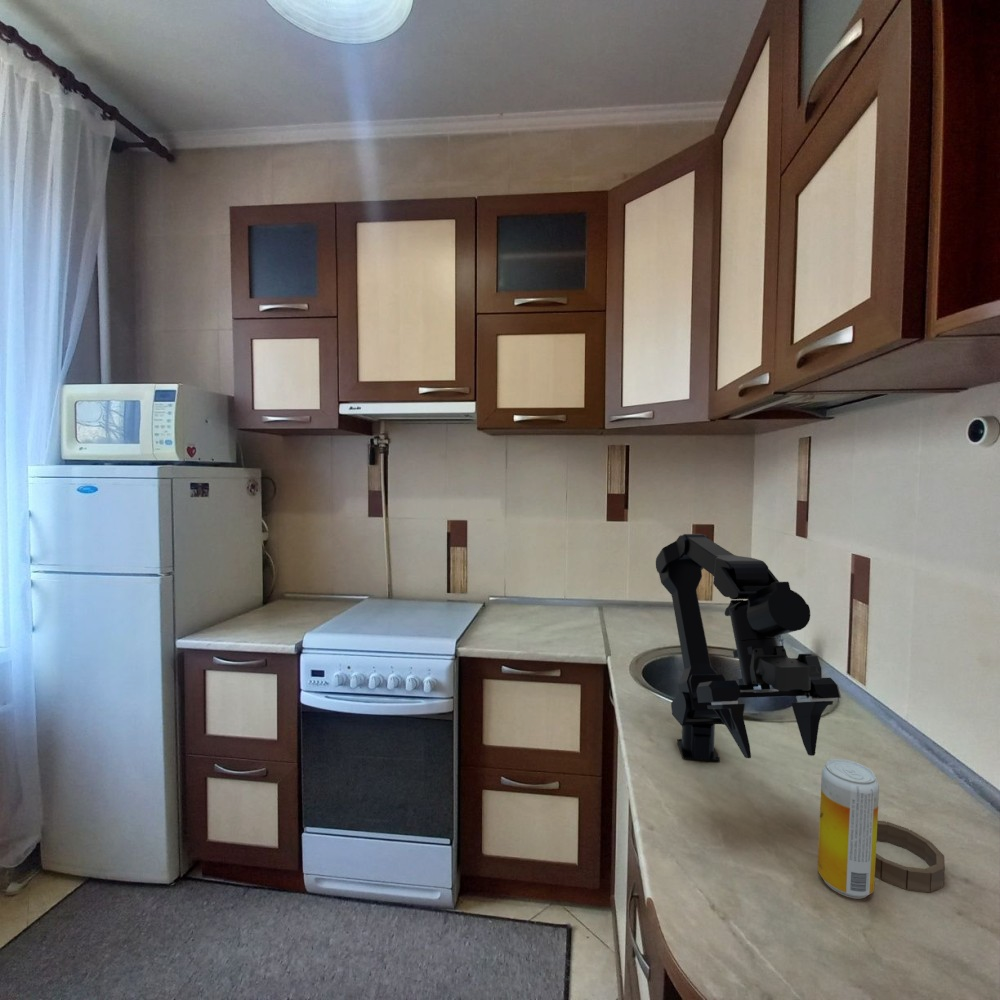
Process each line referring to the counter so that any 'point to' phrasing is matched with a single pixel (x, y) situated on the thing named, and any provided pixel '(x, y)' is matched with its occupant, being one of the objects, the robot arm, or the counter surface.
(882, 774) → the counter surface
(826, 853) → the beer can
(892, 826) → the collar
